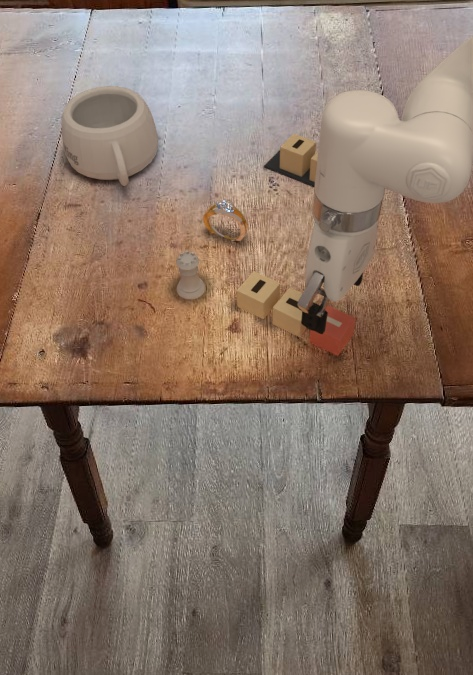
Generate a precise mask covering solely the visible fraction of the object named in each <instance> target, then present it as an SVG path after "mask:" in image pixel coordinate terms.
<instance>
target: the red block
mask: <svg viewBox="0 0 473 675" xmlns="http://www.w3.org/2000/svg"><path fill="white" fill-rule="evenodd" d="M326 311H327V312H328V315H327V321H326V328H325V332H324V333H323V334H319V333H317V332H315V331H312V330H310V329H309V340H308V341H309V342H308V343H310V344H312V345H314V346H316V347H318V348H320V349H322V350H325V351H327V352H328V353H330V354H332V355H334V356H337V357H339V356H340V354H341V352H342V351H343V350H344V348H345V347H346V345H348V343H349V341H350V340H351V338H352V337H353V336H354V332H355V327H356V321H357V318H356V317H355V316H352V315H350V314H348V313H347V312H344V311H342V310H339V309H337V308H335V307H333V306H331V305H329V304H328V305H327V308H326Z"/></svg>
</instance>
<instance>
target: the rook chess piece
mask: <svg viewBox="0 0 473 675" xmlns="http://www.w3.org/2000/svg"><path fill="white" fill-rule="evenodd" d="M184 252H185V253H184ZM175 264H176V266H177V268H178V272H179V274H180V279H179V281H178V283H177V285H176V293H177V295H178V296H179V297H180V298H182V299H185V300H196V299H198V298H200V297H202V296H203V295H204V293H205V291H206V283H204V281H203V280H202V279H201V278H200V276H199V273H198V271H199V266H198V265H199V264H200V258H199V257H198V256H197V255H196V253H195V252H194V251H191V252H190V250H189V249H187V250H185V251H181V252H180V253H179V255H178V256H177V258H176V261H175Z"/></svg>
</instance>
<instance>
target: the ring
mask: <svg viewBox="0 0 473 675" xmlns="http://www.w3.org/2000/svg"><path fill="white" fill-rule="evenodd" d="M234 204H235V203H233V201H231V200H228V199H226V198H223V199H222V200H218V201H215V202H213V203H211V204H210V205H209V207H208V208H207V209H206V212H204V215H203V216H202V220H203V221H202V222H203V224H204V226H205V228H206V229H207V231H208V232H209V233H210V234H213V235H218V236H220V237H223V238H224V239H227V240H230V241H232V242H233V243H236V244H238V243H240V242H241V241H242V240H243V239H244V238H245V236H246V235H247V231H248V224H247V219H246V217H245V215H244V214H243V213H242V212H241V210H240V209H238V208H237V207H236V206H235V205H234ZM216 215H220V216H225V217H229V218H231V219H233V220H234V221H235V222H236V223H237V225H238V226H239V229H240V233H239V234H240V235H238V236H237V237H230V236H229V235H226V234H225V235H224V234H222V233H221V232H219V231H218V230H217V229H216V228H215V226H214V225H213V224H212V221H211V217H212V216H216Z"/></svg>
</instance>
